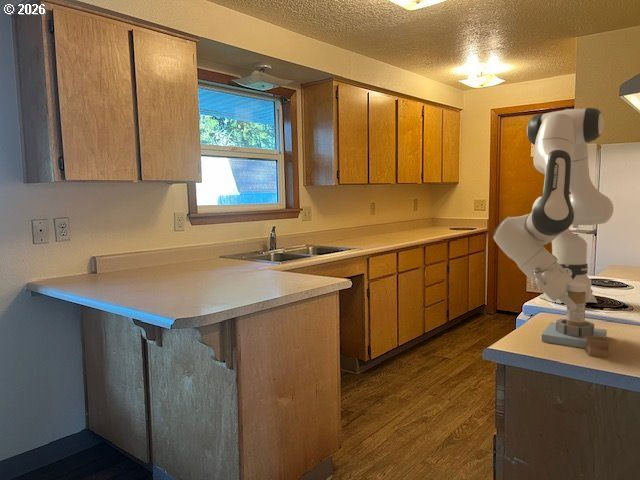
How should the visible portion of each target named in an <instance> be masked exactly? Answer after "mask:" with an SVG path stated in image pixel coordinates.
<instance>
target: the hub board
mask: <svg viewBox="0 0 640 480" xmlns="http://www.w3.org/2000/svg"><path fill="white" fill-rule="evenodd" d="M566 324H567V319H566V318H559V319H557V320H556V321H555V322H552V321H551V322H550V323H549V324H548V326H547V327H546V328H545V329H544V330H543V332H542V334H541V342H543V343H549V344H555V345H561V346H568V347H573V348H581V349H585V343H586V336H598V337H604V338H605V339H606V340H607V333H608V332H607V331H608V330H607V329H604V328H598V327H597V328H596V327H595V323H593V322H591V321H587V320H585V321H584V326H582V327H578V326H570V325H566Z"/></svg>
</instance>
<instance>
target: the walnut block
mask: <svg viewBox="0 0 640 480" xmlns="http://www.w3.org/2000/svg"><path fill="white" fill-rule="evenodd" d="M609 344H610V343H609V340H607V338H606V339H605V338H604V337H598V336H586V343H585V348H584V351H585V352H586V354H587V355H588V356H589V357H598V358H609Z"/></svg>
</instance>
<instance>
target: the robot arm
mask: <svg viewBox="0 0 640 480" xmlns="http://www.w3.org/2000/svg"><path fill="white" fill-rule="evenodd" d="M604 125H605V121H604V117H603V115H602V111H601V110H599V109H598V108H594V107H586V108H566V109H563V110H556V111H550V112H547V113H537V114H535V115H533V116H532V117H531V118H530V119H529V120H528V123H527V126H526V136H527V139H528V141H529V142H530V143H531V144H532V145H534V147H533V155H532V156H533V157H532V159H533V162H532V163H533V167H534V168H535V170H536V171H538V172H539V173H541V174H543V175H544V182H543V190H542V195H541V196H538V197H537V198H536V199H535V200H534V202H533V204H532V207H531V212H530V213H527V214H524V215H521V216H506V217H505V218H504V219H502V221H501V222H500V223H499V224H498V225H497V227H496V228H495V229H494V231H493V234H492V238H493V240H494V242H495V243H496V244H497V246H498V247H499V248H500V250H501V251H502V252H503V253H504V254H505V255H506V256H507V257H508V258H509V259H511V260H512V261H514V262H515V263H516V266H517V267H518V269H520V270H521V271H522V273H524V274H525V275H524V276H526V277H527V278H528V279H529V280H530V281H535V283H536V285H537V286H538V287H539V288H540V289H541V290H542V291H543V293H541V294H540V295H539V299H542V300H546V301H549V302H551V303H555V302H556V303H555V304H561V303H564V304H563V305H565V306H566V307H567V306H568V307H569V308H570V309H571V310H574V309H576V308H577V307H578V304H577V303H576V302H575V301H573V300H572V299H571V298H569V297H568V289H569V288H568V283H583V284H586V285H587V291H586V295H585V302H597V303H598V301H597V298H596V297H595V295H594V294H593V292H594V291H593V290H592V279H591V278H590V277H589V276H588V269H589V266H588V263H587V257H588V255H587V254H588V252H587V251H588V243H587V242H586V240H585V239H584V238H583V237H582V236H579V235H578V234H575V233H574V232H572V231H571V230H570V227H571V226H596V225H601V224H602V225H603V224H606V223H608V221H609V220H610V219H611V218H612V216H613V213H614V204H613V202H612V200H611V199H610V198H609V197H608V196H607V195H605V194H603V193H602V192H601V191H599V190H598V189H597V188H596V186H595V185H594V184H593V182H592V180H591V176H590V170H589V169H590V168H589V148H588V147H589V146H588V144H589V143H591V142H593V141H596V140H597V139H598V138H599V137H601V134H602V132H603V130H604ZM570 193H571V194H570ZM550 243H551V252H549V250H547V248H546V247H545V245H547V244H550Z"/></svg>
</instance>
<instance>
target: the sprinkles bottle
mask: <svg viewBox="0 0 640 480" xmlns="http://www.w3.org/2000/svg"><path fill="white" fill-rule="evenodd" d="M568 288H569V289H568V297H569V298H571V299H572V300H573V301H575V302H576V303H577V304H578V307H577V308H576V309H574V310H571V309H570V308H569V307H568V306H567V305H566V317H565V319H567V324H566V325H570V326H578V327H582V326H584V321H586V304H585V295H586V291H587V285H586V284H583V283H568Z"/></svg>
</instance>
